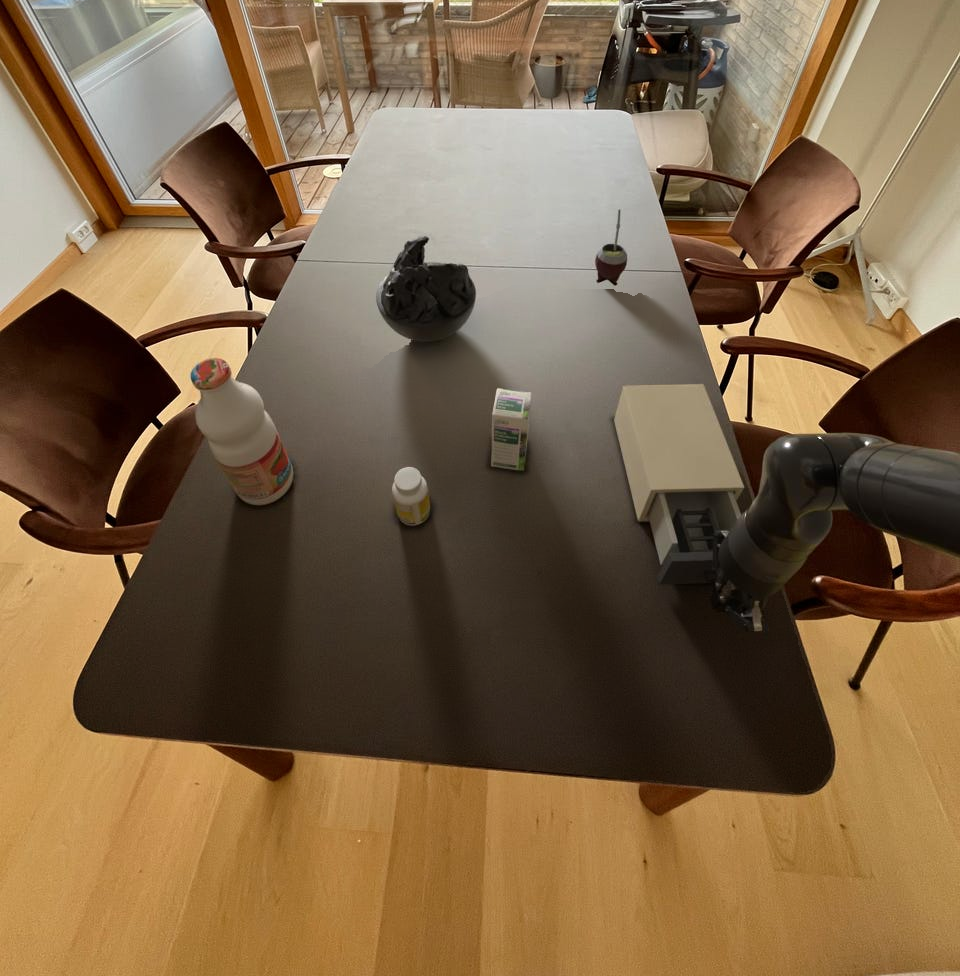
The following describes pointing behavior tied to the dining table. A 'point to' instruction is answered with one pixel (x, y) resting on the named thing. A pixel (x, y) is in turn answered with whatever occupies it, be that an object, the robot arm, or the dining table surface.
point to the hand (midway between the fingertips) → (718, 603)
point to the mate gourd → (611, 260)
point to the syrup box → (510, 428)
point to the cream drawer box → (672, 443)
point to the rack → (705, 523)
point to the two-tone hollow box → (694, 563)
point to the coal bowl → (425, 295)
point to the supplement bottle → (411, 496)
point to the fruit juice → (240, 434)
